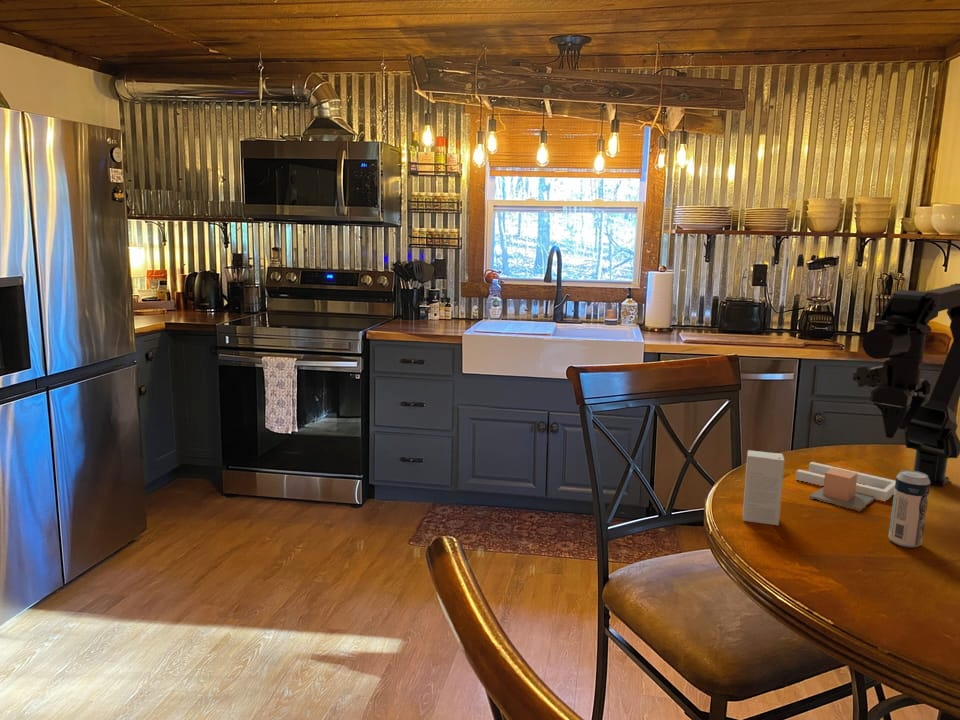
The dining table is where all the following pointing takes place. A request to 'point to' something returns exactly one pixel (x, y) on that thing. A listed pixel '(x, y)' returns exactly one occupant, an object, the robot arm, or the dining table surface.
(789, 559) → the dining table surface
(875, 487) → the channel
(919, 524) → the beer can
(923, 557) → the dining table surface
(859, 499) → the coaster
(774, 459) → the skincare box
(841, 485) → the block
